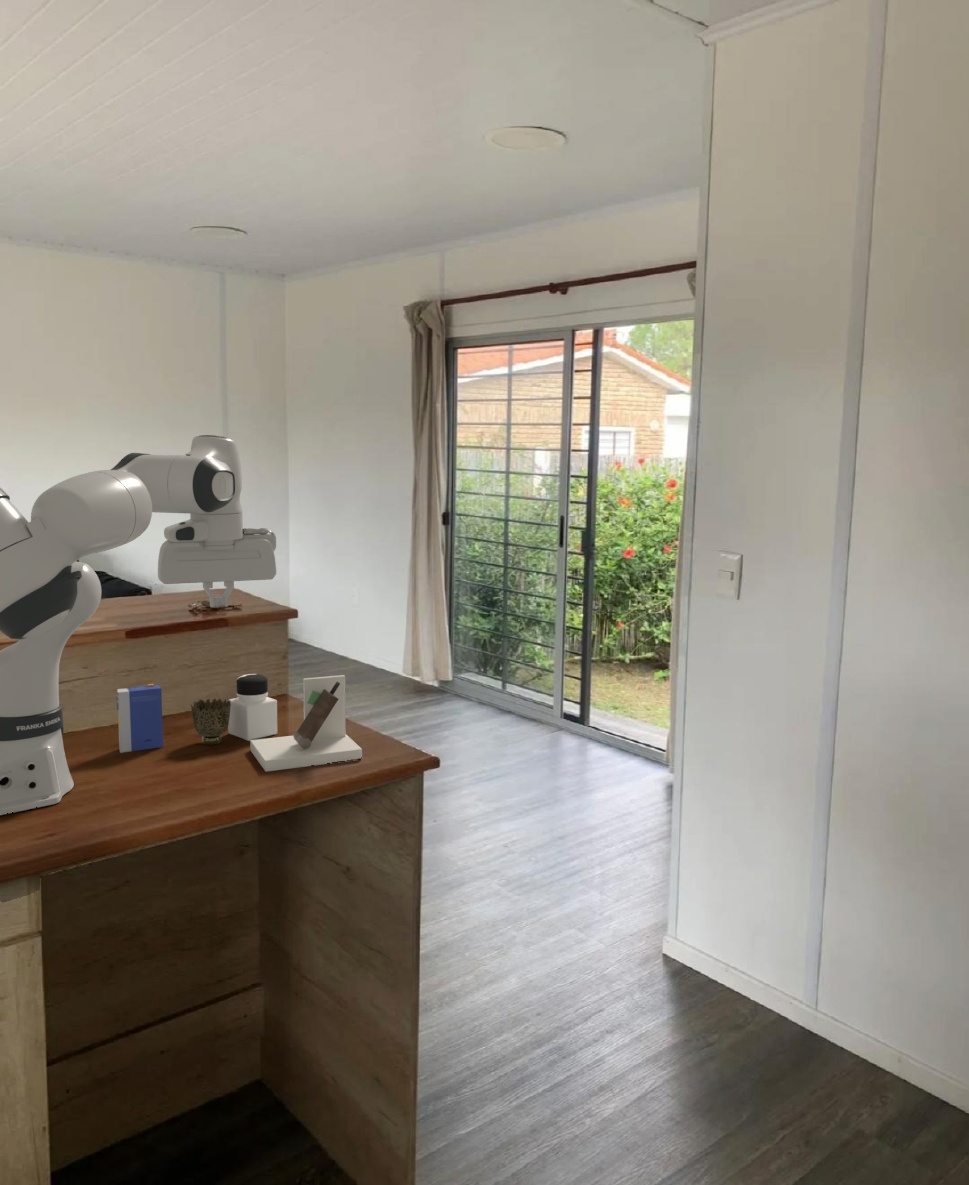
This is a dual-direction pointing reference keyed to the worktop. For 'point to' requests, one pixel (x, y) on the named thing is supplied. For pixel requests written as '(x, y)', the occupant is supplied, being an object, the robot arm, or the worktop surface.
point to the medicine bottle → (252, 709)
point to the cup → (211, 719)
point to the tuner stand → (326, 743)
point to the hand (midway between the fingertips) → (218, 606)
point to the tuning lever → (316, 717)
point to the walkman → (140, 718)
